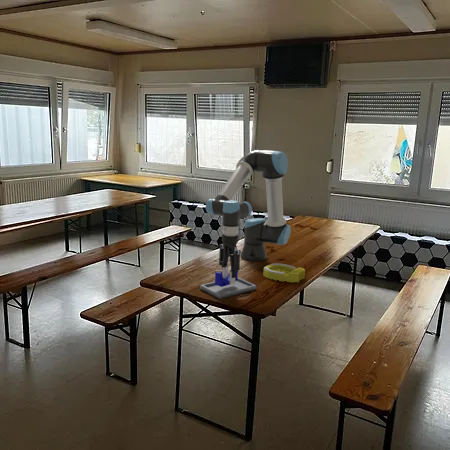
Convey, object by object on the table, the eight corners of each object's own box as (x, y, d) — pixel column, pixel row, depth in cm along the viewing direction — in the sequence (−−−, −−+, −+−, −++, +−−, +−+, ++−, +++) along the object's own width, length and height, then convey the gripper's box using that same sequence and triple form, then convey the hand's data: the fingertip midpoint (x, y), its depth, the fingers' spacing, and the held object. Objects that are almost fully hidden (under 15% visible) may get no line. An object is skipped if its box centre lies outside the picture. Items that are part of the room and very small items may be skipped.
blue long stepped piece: (221, 286, 208) (222, 274, 207) (214, 284, 211) (215, 272, 210) (239, 281, 217) (240, 269, 216) (232, 279, 220) (233, 267, 219)
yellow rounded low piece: (293, 285, 224) (294, 275, 223) (257, 276, 236) (258, 267, 235) (307, 276, 238) (308, 267, 237) (273, 268, 249) (273, 260, 248)
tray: (236, 280, 228) (236, 276, 227) (256, 289, 216) (256, 285, 216) (200, 289, 215) (200, 285, 214) (219, 299, 203) (219, 294, 203)
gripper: (212, 231, 214) (210, 278, 219) (236, 239, 200) (234, 289, 205) (224, 229, 219) (223, 275, 224) (249, 237, 205) (246, 286, 210)
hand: (228, 282), depth 215 cm, fingers closed on blue long stepped piece, 5 cm apart
